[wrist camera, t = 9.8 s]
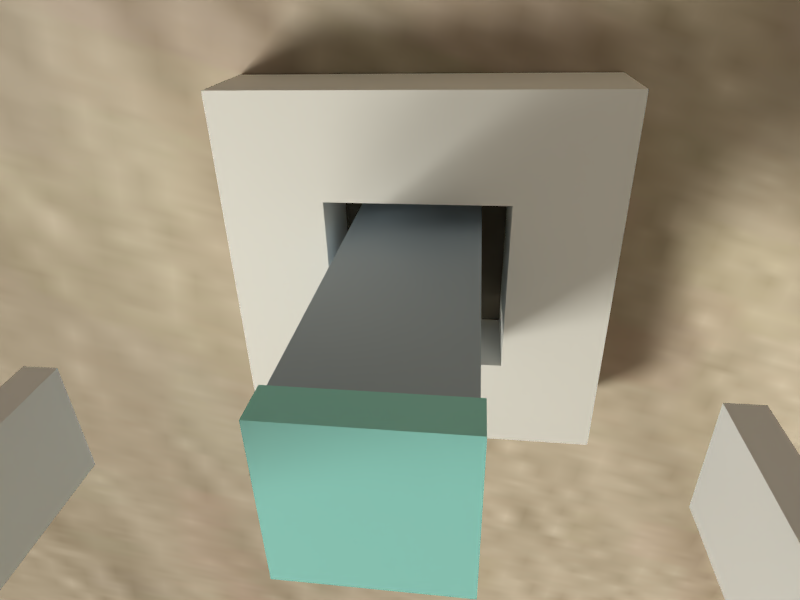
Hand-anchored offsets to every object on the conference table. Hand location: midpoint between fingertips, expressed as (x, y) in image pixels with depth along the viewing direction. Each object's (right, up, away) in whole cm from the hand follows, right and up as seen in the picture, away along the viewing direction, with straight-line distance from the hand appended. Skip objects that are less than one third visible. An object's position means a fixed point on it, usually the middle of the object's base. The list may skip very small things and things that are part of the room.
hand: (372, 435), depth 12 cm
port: (+1, +5, +9) cm, 10 cm away
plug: (+1, +5, +9) cm, 10 cm away
